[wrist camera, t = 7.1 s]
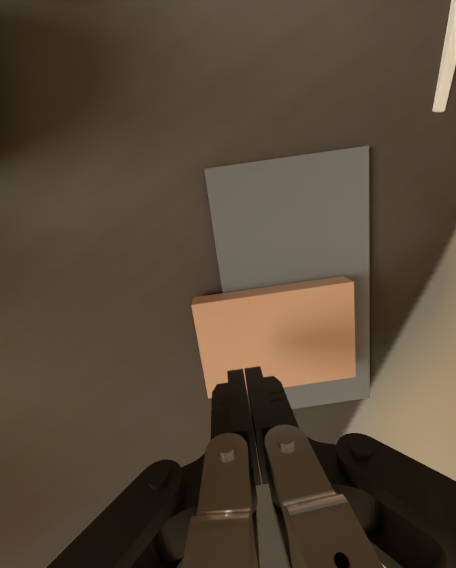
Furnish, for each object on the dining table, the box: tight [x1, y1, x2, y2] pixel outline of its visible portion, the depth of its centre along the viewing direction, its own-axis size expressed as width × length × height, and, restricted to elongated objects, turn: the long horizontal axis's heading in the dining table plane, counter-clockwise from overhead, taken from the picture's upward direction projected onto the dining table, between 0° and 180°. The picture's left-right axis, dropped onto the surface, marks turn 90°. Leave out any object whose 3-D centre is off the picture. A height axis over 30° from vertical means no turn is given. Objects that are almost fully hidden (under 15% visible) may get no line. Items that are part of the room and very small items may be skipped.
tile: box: [191, 276, 356, 398], centre depth 16 cm, size 6×2×9 cm
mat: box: [204, 146, 370, 413], centre depth 17 cm, size 16×9×1 cm, turn 8°
